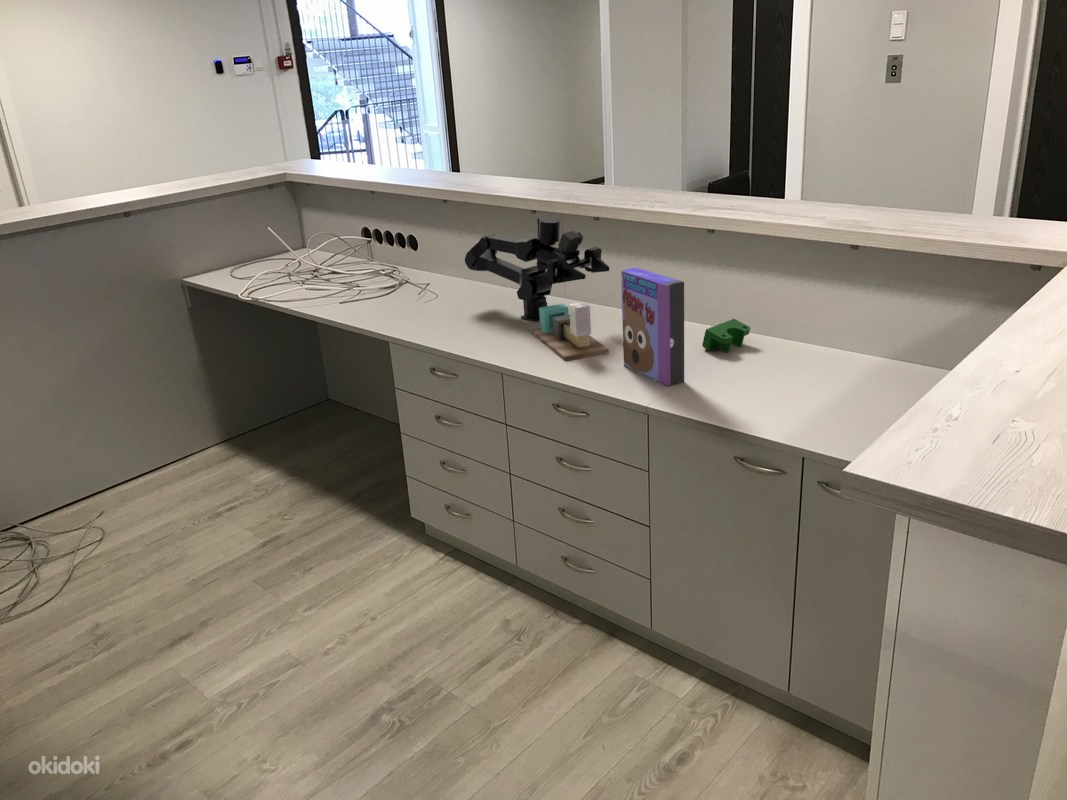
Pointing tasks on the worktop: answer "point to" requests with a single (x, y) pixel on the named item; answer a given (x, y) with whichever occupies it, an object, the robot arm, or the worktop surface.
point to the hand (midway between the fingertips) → (597, 272)
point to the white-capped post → (578, 325)
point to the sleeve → (559, 326)
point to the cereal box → (653, 325)
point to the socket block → (551, 315)
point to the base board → (569, 346)
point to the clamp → (725, 335)
